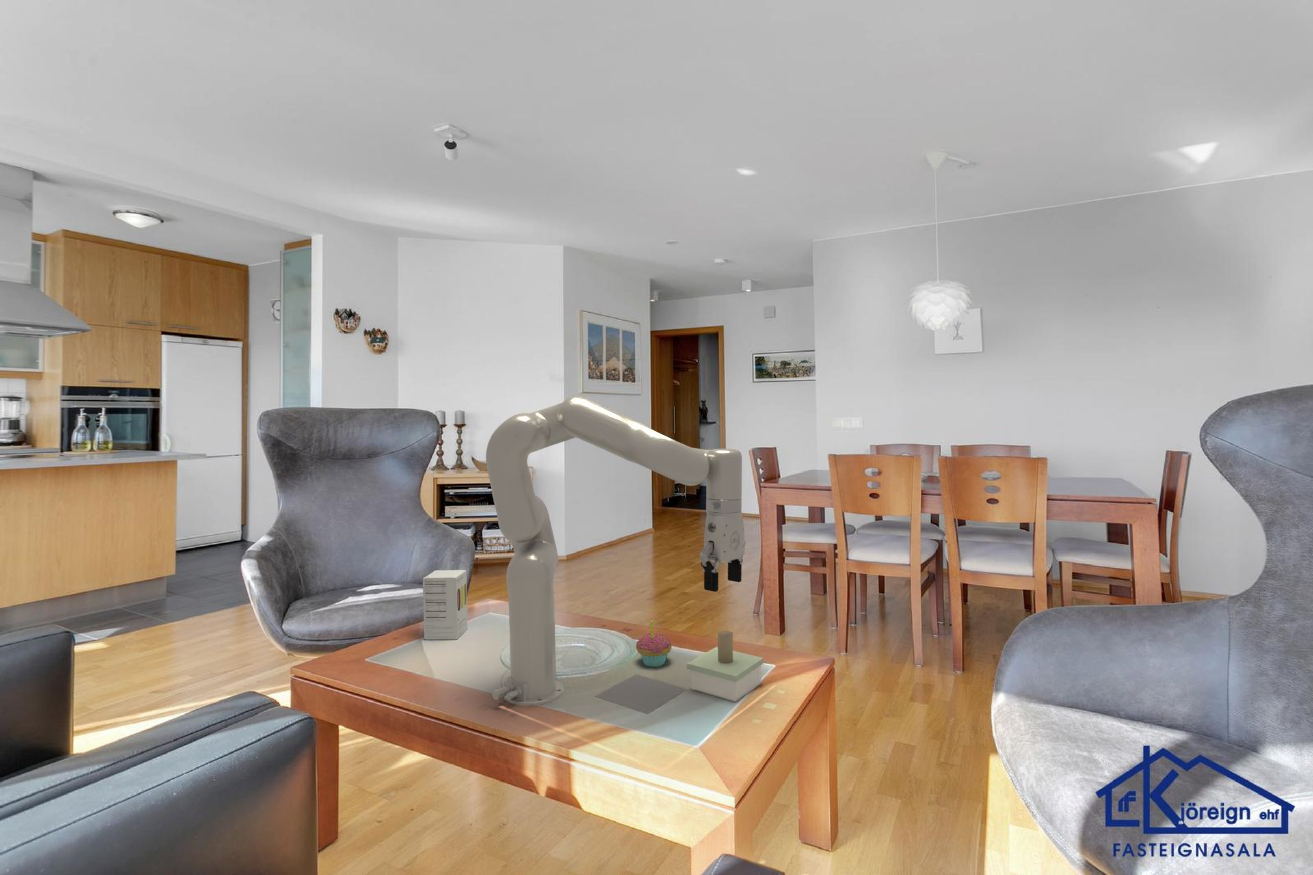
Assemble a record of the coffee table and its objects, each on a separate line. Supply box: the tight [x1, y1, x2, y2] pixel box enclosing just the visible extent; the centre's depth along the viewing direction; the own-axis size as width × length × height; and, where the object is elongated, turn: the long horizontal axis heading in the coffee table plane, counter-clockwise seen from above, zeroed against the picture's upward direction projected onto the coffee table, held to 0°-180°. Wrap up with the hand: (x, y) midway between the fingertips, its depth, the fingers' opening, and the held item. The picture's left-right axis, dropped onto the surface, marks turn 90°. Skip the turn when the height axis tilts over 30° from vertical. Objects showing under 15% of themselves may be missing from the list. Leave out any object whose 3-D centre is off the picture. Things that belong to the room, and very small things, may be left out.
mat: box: [594, 673, 688, 715], centre depth 137 cm, size 14×14×1 cm
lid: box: [686, 630, 764, 682], centre depth 139 cm, size 12×12×7 cm
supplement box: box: [422, 569, 469, 641], centre depth 177 cm, size 10×9×17 cm
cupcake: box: [635, 617, 673, 667], centre depth 153 cm, size 9×8×12 cm
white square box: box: [689, 665, 762, 703], centre depth 139 cm, size 11×11×5 cm
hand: (723, 585), depth 138 cm, fingers open, 9 cm apart
